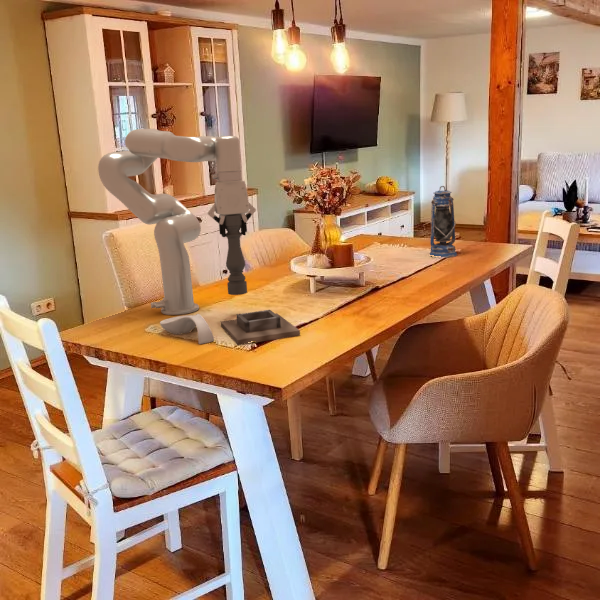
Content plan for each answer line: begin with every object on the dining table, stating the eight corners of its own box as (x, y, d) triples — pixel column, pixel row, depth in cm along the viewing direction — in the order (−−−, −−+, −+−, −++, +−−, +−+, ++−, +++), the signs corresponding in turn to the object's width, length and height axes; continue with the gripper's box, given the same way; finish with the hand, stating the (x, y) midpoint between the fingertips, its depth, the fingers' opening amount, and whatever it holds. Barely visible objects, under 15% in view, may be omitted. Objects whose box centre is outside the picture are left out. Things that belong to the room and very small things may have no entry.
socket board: (238, 345, 190) (236, 329, 188) (220, 326, 210) (219, 311, 209) (300, 335, 195) (299, 320, 194) (277, 317, 215) (276, 303, 214)
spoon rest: (154, 331, 209) (152, 309, 208) (189, 324, 216) (187, 301, 214) (189, 348, 190) (186, 323, 189) (226, 339, 197) (224, 315, 195)
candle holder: (248, 290, 223) (243, 213, 217) (245, 294, 217) (240, 215, 211) (230, 290, 224) (224, 213, 218) (226, 295, 218) (220, 216, 212)
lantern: (444, 251, 311) (443, 184, 304) (465, 254, 301) (465, 184, 294) (420, 256, 302) (418, 187, 295) (441, 259, 292) (440, 188, 285)
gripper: (204, 179, 206) (209, 239, 210) (259, 176, 211) (263, 234, 215) (199, 178, 213) (204, 236, 217) (253, 174, 218) (256, 231, 222)
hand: (233, 235), depth 216 cm, fingers closed on candle holder, 5 cm apart
